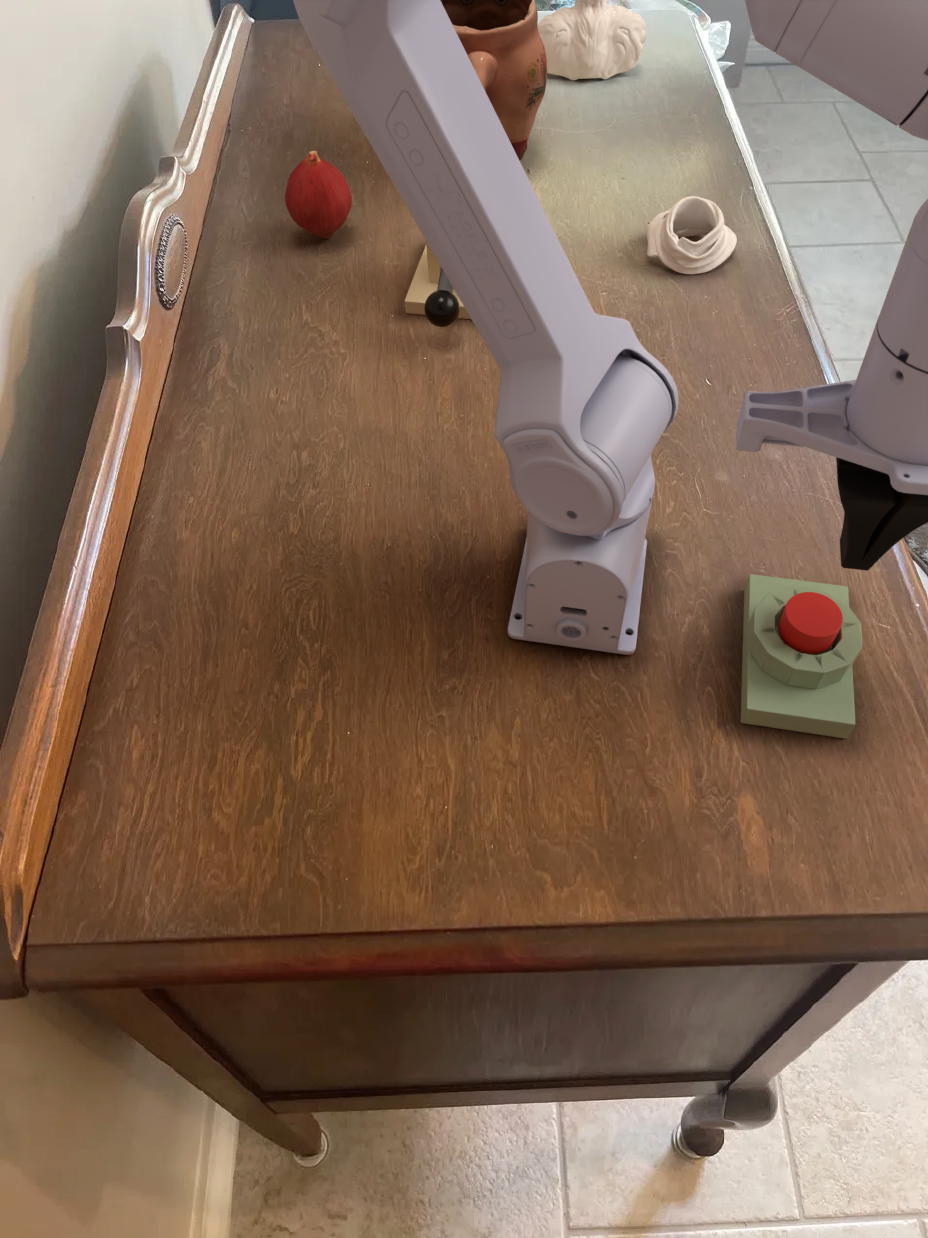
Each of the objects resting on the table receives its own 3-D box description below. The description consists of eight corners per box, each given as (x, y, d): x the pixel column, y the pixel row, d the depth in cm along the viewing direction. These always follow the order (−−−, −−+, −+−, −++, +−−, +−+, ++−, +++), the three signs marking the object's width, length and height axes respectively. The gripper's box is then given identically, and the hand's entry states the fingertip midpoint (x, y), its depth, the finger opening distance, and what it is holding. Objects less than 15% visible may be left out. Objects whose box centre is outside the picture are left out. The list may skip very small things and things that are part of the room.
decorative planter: (553, 213, 86) (561, 51, 74) (423, 220, 86) (411, 60, 74) (534, 108, 97) (538, -45, 86) (419, 115, 97) (408, -38, 86)
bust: (639, 86, 104) (641, -30, 101) (650, 67, 97) (654, -59, 93) (533, 90, 104) (532, -25, 101) (536, 71, 97) (536, -54, 94)
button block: (847, 739, 53) (867, 708, 50) (739, 723, 54) (752, 692, 51) (840, 602, 59) (858, 567, 56) (743, 589, 60) (755, 555, 57)
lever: (458, 334, 74) (454, 317, 71) (424, 331, 74) (419, 314, 71) (481, 202, 76) (478, 180, 73) (448, 199, 76) (443, 177, 73)
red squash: (281, 245, 84) (262, 159, 78) (315, 213, 87) (300, 128, 81) (334, 261, 82) (320, 174, 76) (368, 228, 85) (357, 141, 79)
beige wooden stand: (498, 321, 77) (498, 223, 69) (405, 313, 78) (395, 215, 71) (517, 252, 82) (519, 155, 75) (430, 245, 83) (423, 148, 76)
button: (835, 657, 53) (844, 640, 51) (777, 649, 53) (785, 632, 52) (833, 613, 54) (842, 595, 53) (777, 606, 55) (785, 588, 53)
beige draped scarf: (723, 239, 84) (737, 185, 80) (740, 277, 79) (755, 222, 76) (637, 238, 83) (646, 183, 80) (648, 275, 79) (659, 220, 75)
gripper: (763, 384, 36) (708, 598, 46) (1176, 417, 33) (1016, 634, 44) (764, 277, 40) (713, 497, 51) (1133, 300, 37) (996, 526, 48)
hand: (854, 554), depth 48 cm, fingers closed
